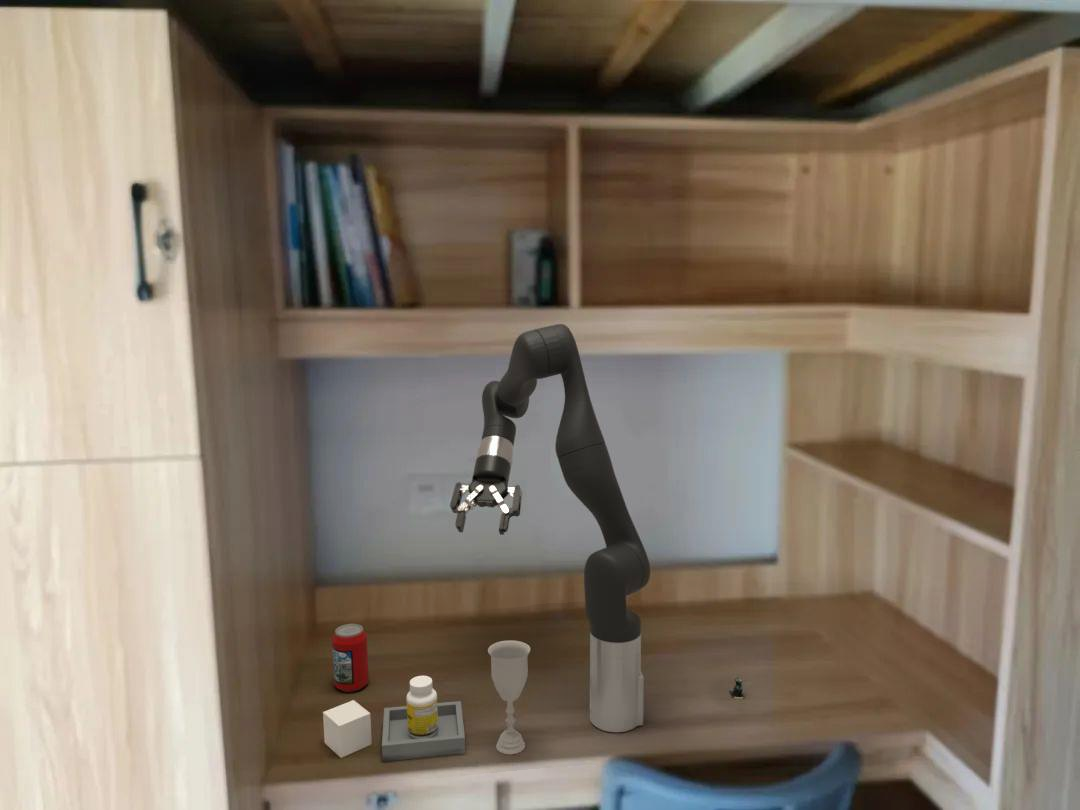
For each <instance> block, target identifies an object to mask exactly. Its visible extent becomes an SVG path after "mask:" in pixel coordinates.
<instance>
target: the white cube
mask: <svg viewBox="0 0 1080 810" xmlns="http://www.w3.org/2000/svg"><path fill="white" fill-rule="evenodd" d="M322 719H323V737H324V738H323V739H324V744H325V745H326V746H327V747H328V748H329V749H331V751H333V753H335V754H336V755H337V756H338V757H339V758H341V759H342V758H344V757H346V756H348V755H350V754H353V753H356V752H357V751H360V750H362V749H364V748H366V747H368V746H371V745H372V744H373V743H372V724H371V723H372V720H371V712H369V711H368V710H367V709H366V708H364V707H363V706H361V704H359V703H358V702H357V701H356V700H354V699H352V700H350V701H348V702H345V703H343V704H340V705H337V706H335V707H332V708H330V709H328V710H325V711H322Z"/></svg>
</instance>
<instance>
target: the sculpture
mask: <svg viewBox="0 0 1080 810" xmlns="http://www.w3.org/2000/svg"><path fill="white" fill-rule="evenodd" d="M734 681H735V684H734V686H733V690H729V691H728V692H729V696H731V698H732V699H746V695H745V692H743V690H744V687H743V685H742V682H743V679H742V678H740V677H737V678H735V679H734Z"/></svg>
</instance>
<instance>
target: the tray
mask: <svg viewBox="0 0 1080 810" xmlns="http://www.w3.org/2000/svg"><path fill="white" fill-rule="evenodd" d="M437 709H438V732H437V733H436V734H435V735H434V736H433V737H431V738H422V739H414V738H412V737H411V736H410V735H409V733H408V723H407V705H403V706H402V705H401V706H392V707H383V723H382V736H381V737H382V738H381V740H382V741H381V756H382V757H381V759H382V763H385V762H395V761H404V760H405V761H406V760H415V759H416V760H417V759H424V758H425V759H426V758H434V757H435V758H436V757H445V756H455V755H456V756H457V755H464V754H466V737H465V735H466V734H465V727H464V718H463V711H462V710H463V709H462V701H461V700H458V701H447V702H437Z"/></svg>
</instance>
